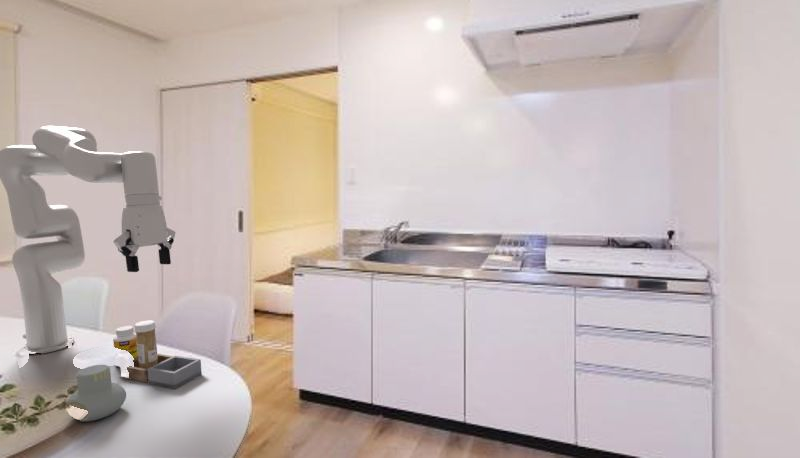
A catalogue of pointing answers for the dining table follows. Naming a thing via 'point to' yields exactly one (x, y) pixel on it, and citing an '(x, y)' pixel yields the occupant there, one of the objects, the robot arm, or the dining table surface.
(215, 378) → the dining table surface
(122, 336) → the supplement bottle
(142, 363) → the sprinkles bottle
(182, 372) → the tray
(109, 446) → the dining table surface
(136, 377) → the brown wooden square frame
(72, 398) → the air freshener
